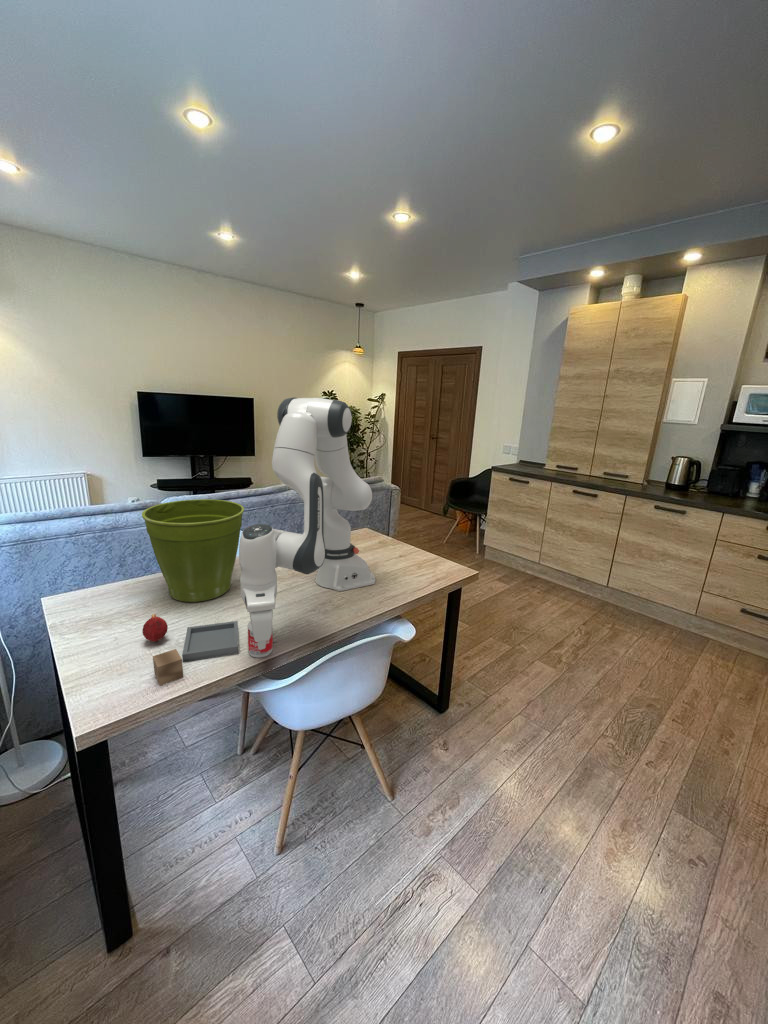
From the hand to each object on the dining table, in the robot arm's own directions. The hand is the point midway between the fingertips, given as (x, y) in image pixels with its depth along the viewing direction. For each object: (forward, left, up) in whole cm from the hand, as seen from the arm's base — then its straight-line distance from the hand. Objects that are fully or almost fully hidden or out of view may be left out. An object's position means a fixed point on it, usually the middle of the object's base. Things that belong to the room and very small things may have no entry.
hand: (260, 637), depth 103 cm
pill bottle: (0, 0, -4) cm, 4 cm away
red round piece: (+26, -12, -4) cm, 29 cm away
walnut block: (+21, +4, -4) cm, 22 cm away
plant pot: (+17, -41, -4) cm, 45 cm away
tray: (+12, -7, -4) cm, 15 cm away
